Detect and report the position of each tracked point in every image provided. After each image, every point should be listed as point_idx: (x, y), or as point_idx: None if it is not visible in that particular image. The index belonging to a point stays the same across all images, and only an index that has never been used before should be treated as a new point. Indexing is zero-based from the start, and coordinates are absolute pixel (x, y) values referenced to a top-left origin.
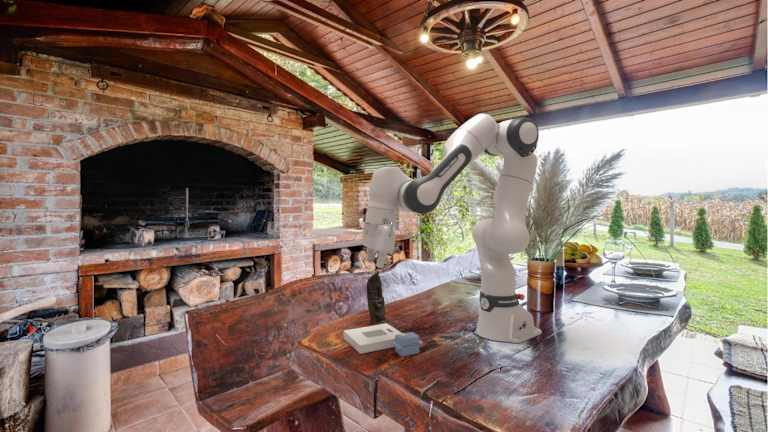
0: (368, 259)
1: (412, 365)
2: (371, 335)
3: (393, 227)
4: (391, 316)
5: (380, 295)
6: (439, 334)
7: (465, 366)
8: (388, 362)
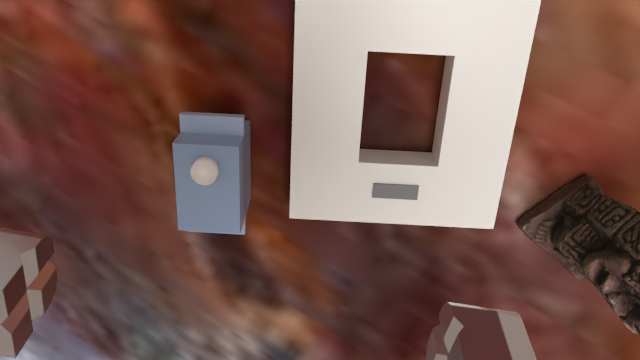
0: (459, 330)
1: (99, 109)
2: (441, 107)
3: None
4: None
5: (636, 317)
6: (318, 354)
7: None
8: (160, 38)
